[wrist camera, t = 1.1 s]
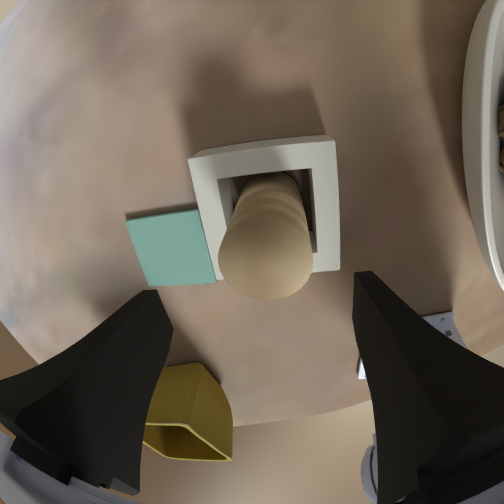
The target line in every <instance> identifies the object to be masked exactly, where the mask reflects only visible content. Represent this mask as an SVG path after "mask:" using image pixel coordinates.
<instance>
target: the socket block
mask: <svg viewBox="0 0 504 504" xmlns="http://www.w3.org/2000/svg"><path fill="white" fill-rule="evenodd" d="M188 163H189V168H190V172H191V177H192V181H193V186H194V190H195V194H196V199H197V203H198V207H199V212H200V216H201V220H202V224H203V228H204V232H205V236H206V240H207V245H208V248H209V252H210V256H211V260H212V264H213V268H214V272H215V276H216V280H221V279H224V278H223V276H222V274H221V272H220V269H219V264H218V252H219V248H220V245H221V243H222V240H223V237H224V235H225V232H226V230H227V227H228V225H229V222H230V220H231V217H232V215H233V212H234V206H233V201H232V196H231V190H230V185H229V180H228V177H235V176H242V175H250V174H258V173H267V172H276V171H285V170H295V169H306V168H308V175H309V186H310V197H311V210H312V224H313V231H310V232H309V237H310V242H311V248H312V253H313V268H312V272H322V271H333V270H340V215H339V191H338V173H337V159H336V147H335V141H334V140H333V139H332V138H330V137H329V136H328V135H314V136H301V137H291V138H281V139H272V140H264V141H256V142H248V143H241V144H235V145H228V146H222V147H216V148H210V149H205V150H201V151H199V152H198V153H196V154H195V155H193V156H192V157H190V158H189V159H188Z"/></svg>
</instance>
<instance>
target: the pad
mask: <svg viewBox="0 0 504 504" xmlns="http://www.w3.org/2000/svg"><path fill="white" fill-rule="evenodd" d="M125 222H126V225H127V228H128V231H129V234H130V236H131V239H132V242H133V245H134V248H135V251H136V253H137V256H138V259H139V262H140V264H141V267H142V270H143V272H144V275H145V277H146V280H147V282H148V285H149V286H165V285H184V284H201V283H216V282H217V280H216V276H215V272H214V268H213V264H212V260H211V256H210V252H209V248H208V245H207V240H206V236H205V232H204V228H203V224H202V220H201V216H200V212H199V208H198V209H191V210H184V211H177V212H171V213H164V214H158V215H151V216H145V217H139V218H133V219H128V220H127V221H125Z"/></svg>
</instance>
